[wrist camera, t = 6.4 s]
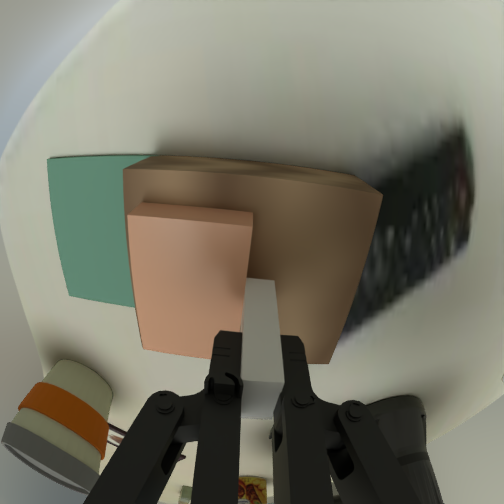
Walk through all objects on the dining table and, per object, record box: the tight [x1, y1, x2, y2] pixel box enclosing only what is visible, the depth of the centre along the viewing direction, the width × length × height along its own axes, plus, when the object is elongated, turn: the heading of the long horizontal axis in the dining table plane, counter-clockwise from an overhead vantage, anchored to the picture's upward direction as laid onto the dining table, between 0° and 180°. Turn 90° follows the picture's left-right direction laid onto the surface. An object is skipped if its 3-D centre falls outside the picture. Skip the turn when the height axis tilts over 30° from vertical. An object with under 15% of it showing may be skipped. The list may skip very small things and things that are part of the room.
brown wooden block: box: [123, 155, 383, 364], centre depth 19 cm, size 14×13×5 cm
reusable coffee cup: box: [1, 360, 113, 495], centre depth 24 cm, size 13×13×15 cm
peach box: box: [127, 202, 253, 359], centre depth 16 cm, size 6×9×2 cm, turn 173°
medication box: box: [178, 486, 192, 504], centre depth 51 cm, size 12×3×4 cm, turn 165°
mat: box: [47, 155, 159, 308], centre depth 21 cm, size 10×13×1 cm
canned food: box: [238, 476, 267, 504], centre depth 40 cm, size 8×8×12 cm
